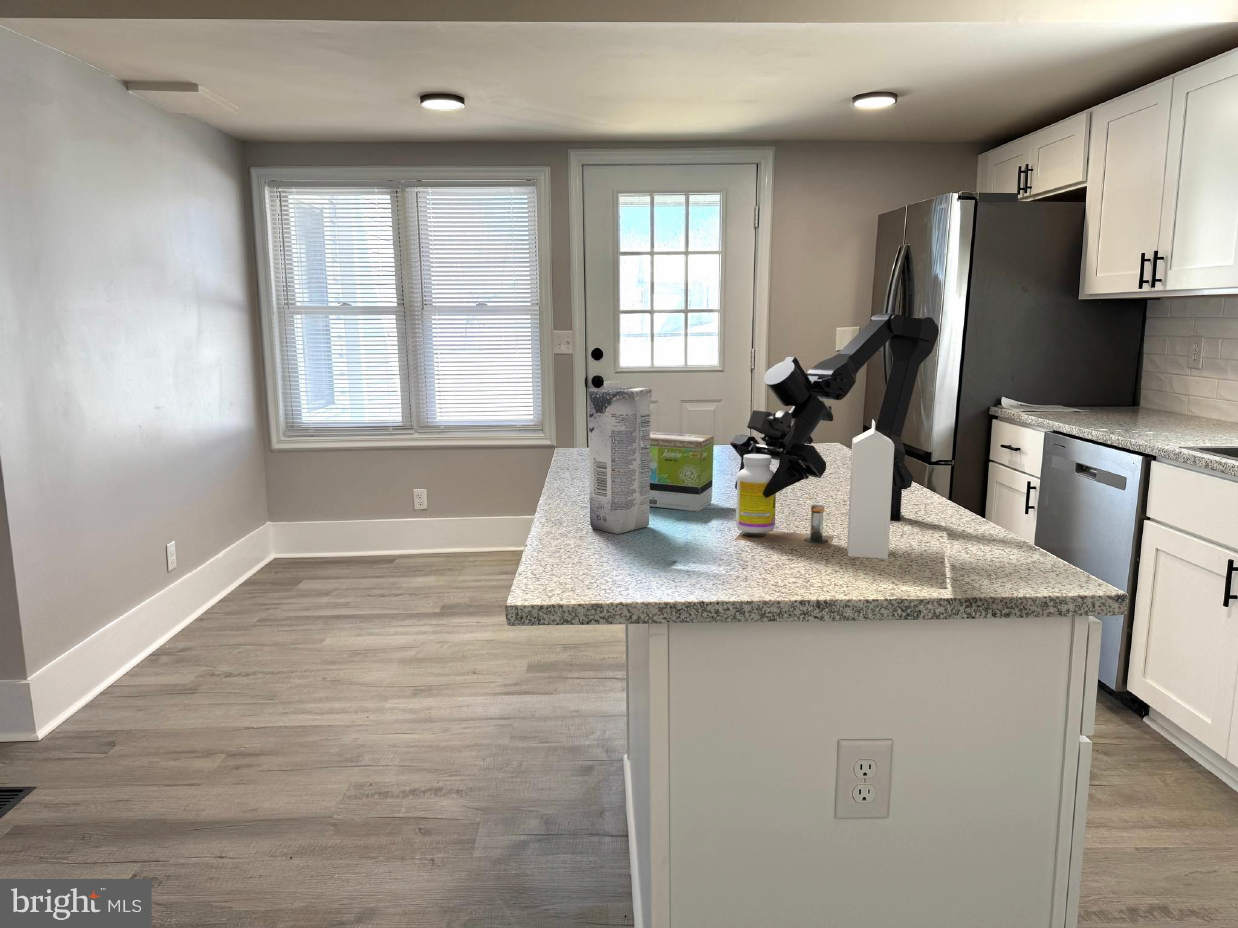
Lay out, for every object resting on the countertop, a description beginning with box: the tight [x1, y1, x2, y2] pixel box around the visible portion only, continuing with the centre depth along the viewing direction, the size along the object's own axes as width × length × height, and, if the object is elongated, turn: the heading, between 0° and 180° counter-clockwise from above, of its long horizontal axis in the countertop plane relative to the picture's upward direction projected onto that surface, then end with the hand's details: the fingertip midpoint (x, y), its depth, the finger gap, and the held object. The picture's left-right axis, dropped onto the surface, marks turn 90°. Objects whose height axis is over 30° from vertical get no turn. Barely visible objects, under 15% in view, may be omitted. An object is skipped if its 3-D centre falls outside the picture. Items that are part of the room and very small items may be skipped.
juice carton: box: [587, 380, 653, 535], centre depth 146 cm, size 9×10×27 cm
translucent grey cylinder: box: [809, 503, 825, 542], centre depth 134 cm, size 2×2×6 cm
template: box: [734, 530, 835, 549], centre depth 137 cm, size 16×8×1 cm, turn 69°
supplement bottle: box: [735, 454, 777, 533], centre depth 137 cm, size 7×7×13 cm
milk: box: [846, 419, 894, 560], centre depth 126 cm, size 6×6×22 cm
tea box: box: [649, 431, 715, 513], centre depth 167 cm, size 15×10×15 cm, turn 68°
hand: (750, 492), depth 137 cm, fingers closed on supplement bottle, 7 cm apart
